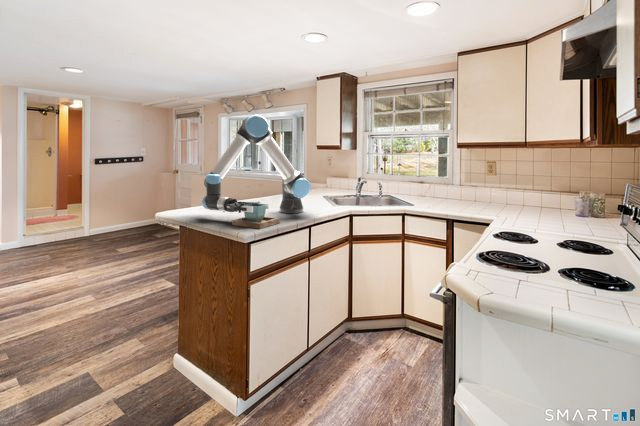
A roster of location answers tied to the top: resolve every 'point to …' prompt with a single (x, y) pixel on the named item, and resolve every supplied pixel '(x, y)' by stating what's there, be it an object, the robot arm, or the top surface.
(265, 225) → the walnut tray
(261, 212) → the flower pot
